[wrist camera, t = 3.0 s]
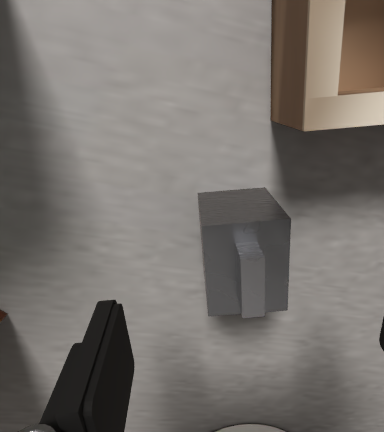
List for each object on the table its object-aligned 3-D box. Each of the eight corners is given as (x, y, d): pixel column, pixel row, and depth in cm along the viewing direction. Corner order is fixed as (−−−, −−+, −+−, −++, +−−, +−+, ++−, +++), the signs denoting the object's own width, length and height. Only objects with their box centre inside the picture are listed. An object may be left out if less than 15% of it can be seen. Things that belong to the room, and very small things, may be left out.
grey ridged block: (264, 187, 18) (302, 232, 12) (264, 260, 20) (297, 331, 14) (197, 192, 19) (202, 241, 12) (203, 265, 20) (210, 338, 14)
